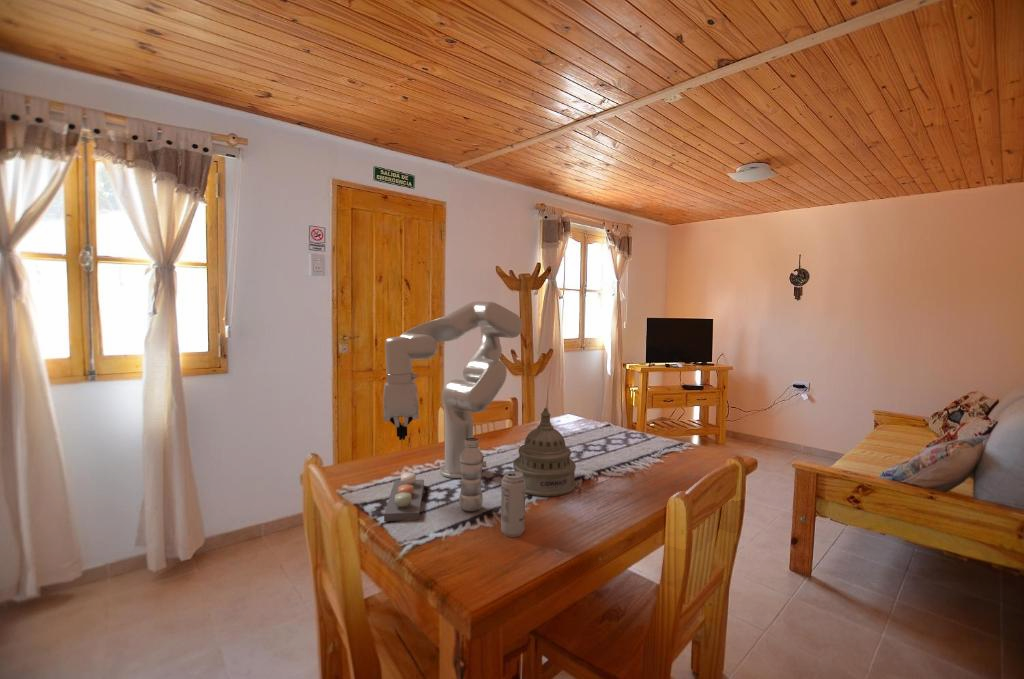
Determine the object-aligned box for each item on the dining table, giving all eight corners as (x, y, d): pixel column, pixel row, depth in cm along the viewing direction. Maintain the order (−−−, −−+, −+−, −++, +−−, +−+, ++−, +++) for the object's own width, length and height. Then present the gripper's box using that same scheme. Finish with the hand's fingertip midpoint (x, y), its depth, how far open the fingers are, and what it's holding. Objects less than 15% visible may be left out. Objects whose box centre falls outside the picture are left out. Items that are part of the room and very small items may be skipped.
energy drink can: (525, 537, 115) (526, 478, 113) (501, 538, 114) (502, 479, 113) (523, 526, 120) (524, 470, 119) (500, 526, 120) (500, 470, 119)
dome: (506, 412, 140) (522, 399, 159) (504, 492, 142) (521, 470, 161) (572, 417, 134) (581, 403, 154) (570, 501, 136) (579, 476, 156)
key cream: (416, 478, 144) (416, 472, 143) (415, 484, 139) (415, 477, 139) (401, 479, 143) (401, 473, 143) (400, 484, 139) (400, 478, 138)
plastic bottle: (460, 503, 133) (461, 435, 132) (484, 504, 133) (484, 436, 131) (457, 514, 127) (457, 442, 125) (481, 514, 127) (482, 443, 125)
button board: (424, 485, 146) (424, 479, 146) (418, 519, 123) (418, 512, 123) (394, 486, 145) (394, 480, 145) (384, 521, 122) (384, 513, 122)
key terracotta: (414, 490, 136) (414, 484, 136) (413, 497, 132) (413, 490, 132) (398, 491, 136) (398, 484, 135) (397, 497, 131) (397, 490, 131)
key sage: (412, 499, 129) (412, 492, 129) (410, 506, 124) (410, 498, 124) (395, 499, 128) (395, 492, 128) (393, 506, 124) (393, 499, 124)
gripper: (425, 375, 142) (427, 433, 144) (375, 377, 139) (378, 436, 142) (425, 379, 135) (427, 440, 137) (372, 382, 132) (375, 444, 134)
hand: (402, 438), depth 139 cm, fingers closed
